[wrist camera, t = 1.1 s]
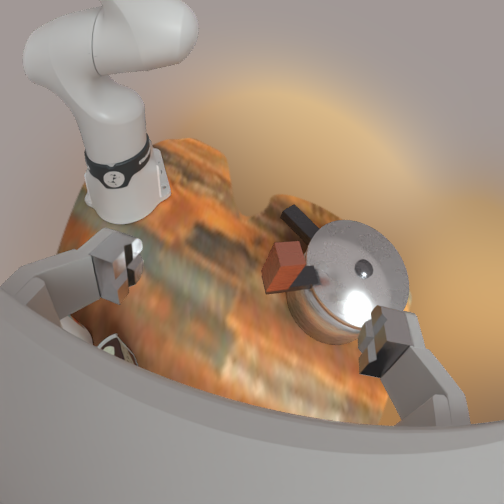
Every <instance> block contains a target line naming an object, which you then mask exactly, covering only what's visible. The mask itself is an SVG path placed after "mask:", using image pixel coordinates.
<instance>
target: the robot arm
mask: <svg viewBox="0 0 504 504" xmlns="http://www.w3.org/2000/svg"><path fill="white" fill-rule="evenodd" d="M100 2H101V3H102V6H101V7H96V8H91V9H86V10H83V11H78V12H74V13H70V14H66V15H63V16H61V17H58V18H56V19H55V20H52V21H50V22H48V23H46V24H45V25H43V26H41V27H39V28H38V29H36V30H35V31H34V32H33V33H32V34H31V35H30V37H29V39H28V40H27V43H26V45H25V48H24V51H23V59H22V63H23V68H24V71H25V74H26V75H27V77H28V78H29V79H30V81H31V82H33V83H34V84H37V85H40V86H43V87H45V88H47V89H49V90H50V91H52V92H53V93H54V94H56V95H57V96H58V97H59V98H60V99H61V100H62V101H63V102H64V103H65V104H66V105H67V107H68V108H69V109H70V111H71V112H72V114H73V115H74V117H75V119H76V122H77V124H78V127H79V130H80V133H81V136H82V139H83V143H84V146H85V161H86V165H87V167H88V169H87V170H86V173H85V175H84V177H85V182H86V186H87V190H88V192H87V194H86V196H85V202H86V204H87V205H89V206H90V207H92V208H94V209H95V210H96V212H97V214H98V215H99V216H100V217H101V218H102V219H103V220H105V221H107V222H110V223H114V224H128V223H132V222H135V221H138V220H140V219H142V218H144V217H145V216H147V215H148V214H150V213H151V212H152V211H153V210H154V208H155V207H156V206H157V205H158V204H159V203H160V202H161V201H163V200H165V199H167V198H168V197H169V196H170V195H171V189H170V186H169V182H168V178H167V175H166V171H165V167H164V163H163V160H162V156H161V152H160V150H158V149H155V148H153V147H152V143H151V140H150V139H149V137H148V134H147V133H146V121H145V106H144V102H143V100H142V98H141V97H140V96H139V94H138V93H137V92H136V91H134V90H133V89H131V88H129V87H127V86H124V85H121V84H119V83H117V82H116V81H114V80H113V79H111V77H110V76H109V74H117V73H126V72H137V71H148V70H152V69H157V68H162V67H166V66H171V65H175V64H179V63H181V62H182V61H183V60H184V59H185V58H186V57H187V56H188V55H189V54H190V52H191V51H192V49H193V48H194V46H195V44H196V41H197V38H198V33H199V32H198V31H199V27H198V21H197V17H196V15H195V13H194V12H193V10H192V9H191V8H190V7H189V6H188V5H187V4H186V3H184V2H182V1H181V0H100ZM163 188H165V189H163ZM142 249H143V248H142V241H141V240H140V239H139V238H137V237H134V236H131V235H128V234H125V233H122V232H119V231H115V230H112V229H109V228H102V229H101V230H100V231H99V232H98V233H96V234H95V235H94V236H93V237H92V238H91V239H89V240H88V241H87V242H86V243H85V244H84V245H82V246H81V247H80V248H79V249H78V250H75V249H73V250H70V251H66V252H63V253H60V254H57V255H54V256H51V257H48V258H45V259H42V260H39V261H36V262H33V263H30V264H27V265H24V266H22V267H20V268H19V269H18V270H17V271H16V272H14V274H12V275H11V276H10V277H9V278H8V279H7V280H6V281H5V282H4V283H3V284H2V285H1V286H0V504H504V420H502V421H496V422H488V423H480V424H470V418H469V413H468V408H467V403H466V398H465V394H464V393H463V392H462V390H461V389H460V388H459V387H458V385H457V384H456V383H455V381H454V380H453V379H452V377H450V375H449V374H448V373H447V371H446V370H445V369H444V367H443V366H442V365H441V364H440V362H439V361H438V360H437V359H436V357H435V356H434V355H433V354H432V353H431V351H430V350H428V349H426V348H425V345H424V341H423V337H422V334H421V329H420V326H419V323H418V319H417V316H416V315H415V314H414V313H411V312H406V311H400V310H396V309H392V308H388V307H384V306H379V305H377V306H376V307H375V308H374V309H373V310H372V312H371V318H372V319H370V320H368V321H366V322H365V323H364V325H363V326H362V328H361V330H360V333H359V336H358V348H359V350H360V351H361V353H362V354H361V356H360V357H359V374H362V375H367V376H372V377H378V378H381V379H380V380H381V382H382V383H383V385H384V387H385V389H386V391H387V393H388V395H389V397H390V398H391V400H392V402H393V404H394V406H395V408H396V410H397V412H398V414H399V415H400V417H401V421H400V422H398V423H397V424H396V425H394V426H382V425H381V426H380V425H368V424H357V423H348V422H339V421H332V420H325V419H318V418H312V417H306V416H301V415H295V414H290V413H285V412H280V411H276V410H271V409H267V408H263V407H258V406H254V405H250V404H247V403H243V402H239V401H235V400H232V399H228V398H225V397H221V396H218V395H215V394H212V393H208V392H205V391H202V390H199V389H196V388H193V387H190V386H187V385H184V384H182V383H179V382H176V381H173V380H171V379H168V378H165V377H163V376H160V375H158V374H155V373H153V372H150V371H148V370H145V369H143V368H141V367H138V366H136V365H134V364H131V363H129V362H127V361H125V360H123V359H120V358H118V357H116V356H114V355H112V354H110V353H108V352H106V351H104V350H102V349H100V348H98V347H96V346H94V345H92V344H90V343H88V342H86V341H84V340H82V339H80V338H79V337H77V336H75V335H73V334H71V333H70V332H68V331H66V330H64V329H63V327H62V324H61V322H60V320H61V319H63V318H65V317H66V316H68V315H70V314H72V313H74V312H76V311H78V310H79V309H81V308H83V307H85V306H87V305H89V304H91V303H93V302H95V301H96V300H98V299H100V297H101V298H104V299H106V300H109V301H111V302H114V303H116V304H119V305H120V304H121V303H122V301H123V300H124V299H125V297H126V296H127V295H128V294H129V287H130V286H133V285H135V284H136V283H137V282H138V281H139V279H140V277H141V274H142V272H143V258H142V257H141V255H140V254H139V253H140V252H141V250H142Z"/></svg>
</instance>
